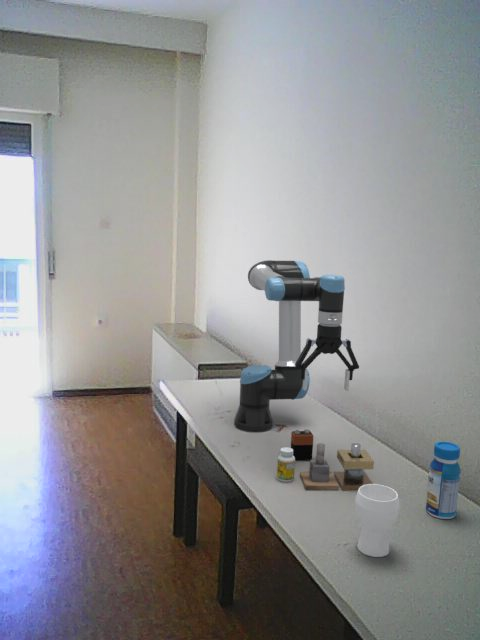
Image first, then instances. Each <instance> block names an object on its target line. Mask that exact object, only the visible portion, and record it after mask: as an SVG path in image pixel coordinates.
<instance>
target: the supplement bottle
mask: <svg viewBox="0 0 480 640" xmlns="http://www.w3.org/2000/svg"><path fill="white" fill-rule="evenodd" d="M279 453H280V454H279V455H278V457H277V468H276V469H277V471H276V473H277V474H276V475H277V476H276V479H277V480H278V481H280V482H284V483H289V482H293V481H294V480H295V472H296V471H295V470H296V468H295V467H296V461H295V457H294V456H293V449H292V448H291V447H286V446H285V447H281V448H280V452H279Z"/></svg>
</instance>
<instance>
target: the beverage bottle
mask: <svg viewBox="0 0 480 640" xmlns="http://www.w3.org/2000/svg"><path fill="white" fill-rule="evenodd" d="M433 455H434V458H433V459H432V461H431V462H430V464H429V469H430V471H429V472H428V483H427V494H426V503H425V511H426V512H427V513H428V514H429V515H430V516H432V517H435V518H438V519H442V520H451V519H453V518H455V517H456V516H457V507H458V498H459V490H460V483H461V477H460V474H461V472H462V471H461V470H462V469H461V466H460V464H459V462H458V461H459V459H460V455H461V447H460V446H459V445H458V444H456V443H454V442H450V441H437V442H435V443H434V449H433Z"/></svg>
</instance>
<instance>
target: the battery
mask: <svg viewBox="0 0 480 640" xmlns="http://www.w3.org/2000/svg"><path fill="white" fill-rule="evenodd" d="M290 433H291V434H290V435H291V436H290V448H292V449H293V456H294V457H295V462H298V461H310V460H313V453H314V452H313V450H314V435H313V432H312V431H311V429H308V428H307V429H304V430H299V429H295V430H292V431H291V432H290Z"/></svg>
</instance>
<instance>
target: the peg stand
mask: <svg viewBox="0 0 480 640" xmlns="http://www.w3.org/2000/svg"><path fill="white" fill-rule="evenodd" d="M361 447H362V444H360V443H358V442H354V443H351V447H350V448H351V449H350V450H351V458H360V450H362V449H361ZM343 470H344V471H333V476H334V478H335V480H336V482H337V484H338V485H339V487H338V488H340V490H341V491H358V489H359V488H360V487H361V486H363V485H366V484H374V483H373V481H372V480H371V479H370V477H369V476H368V474H367V473H366V471H365V469H344V468H343Z"/></svg>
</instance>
